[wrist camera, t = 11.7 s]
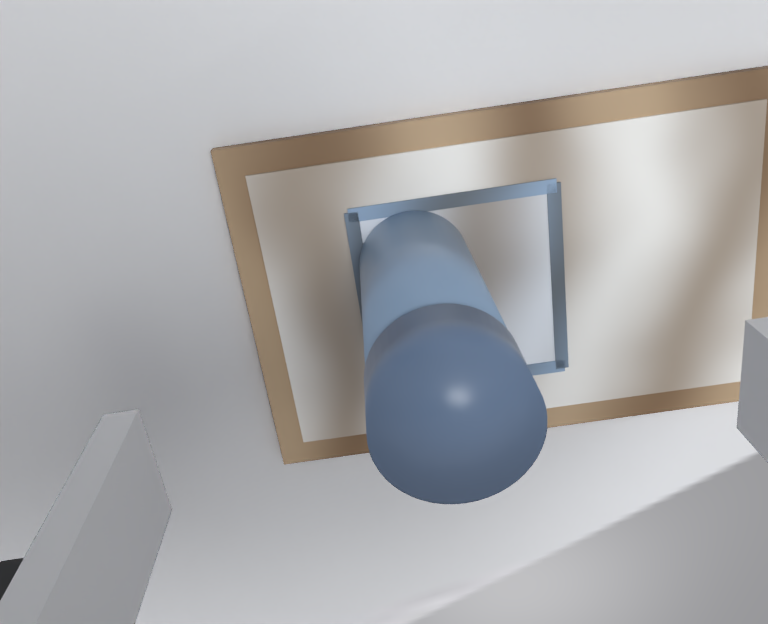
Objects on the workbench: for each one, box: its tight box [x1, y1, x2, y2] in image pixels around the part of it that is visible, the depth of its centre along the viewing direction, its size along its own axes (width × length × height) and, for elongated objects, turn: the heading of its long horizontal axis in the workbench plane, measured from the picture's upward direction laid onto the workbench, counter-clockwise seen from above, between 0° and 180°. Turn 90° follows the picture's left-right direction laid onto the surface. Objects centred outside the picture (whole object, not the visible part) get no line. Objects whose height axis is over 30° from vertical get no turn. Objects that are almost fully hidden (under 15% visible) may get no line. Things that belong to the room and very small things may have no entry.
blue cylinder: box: [359, 210, 547, 504], centre depth 21 cm, size 4×4×11 cm
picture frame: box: [211, 66, 768, 464], centre depth 27 cm, size 20×13×1 cm, turn 98°
